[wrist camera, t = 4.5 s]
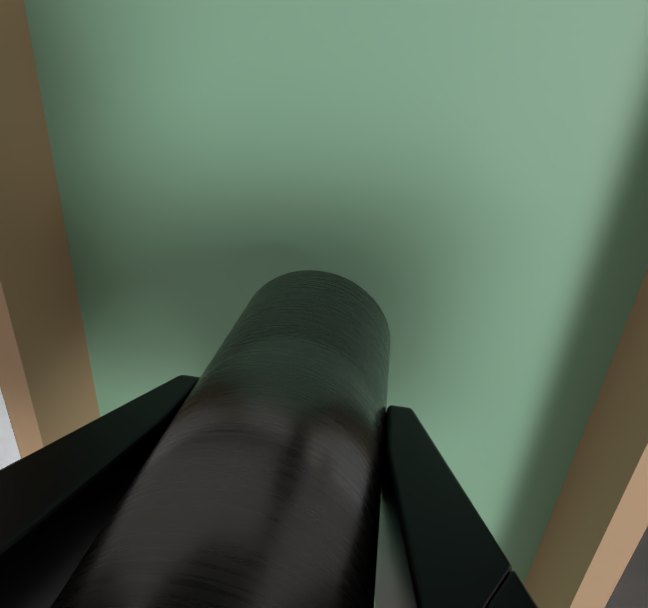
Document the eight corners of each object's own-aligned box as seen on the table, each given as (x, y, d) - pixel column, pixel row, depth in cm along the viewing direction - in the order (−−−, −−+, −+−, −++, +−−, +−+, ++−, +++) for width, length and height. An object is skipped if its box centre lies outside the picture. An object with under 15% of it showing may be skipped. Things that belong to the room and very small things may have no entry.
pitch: (1037, -726, 6) (1816, -1699, 3) (500, 646, 20) (519, 769, 17) (-76, -629, 8) (-450, -1158, 5) (135, 575, 22) (84, 674, 19)
